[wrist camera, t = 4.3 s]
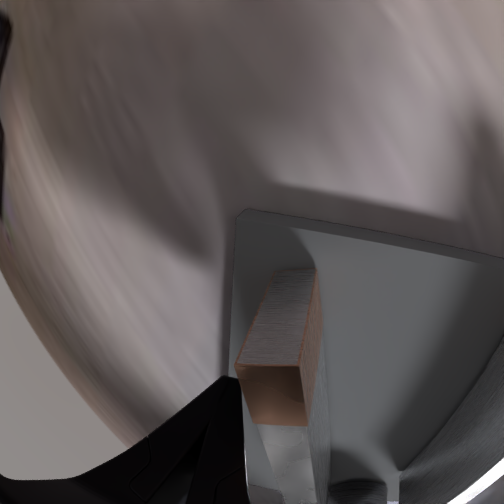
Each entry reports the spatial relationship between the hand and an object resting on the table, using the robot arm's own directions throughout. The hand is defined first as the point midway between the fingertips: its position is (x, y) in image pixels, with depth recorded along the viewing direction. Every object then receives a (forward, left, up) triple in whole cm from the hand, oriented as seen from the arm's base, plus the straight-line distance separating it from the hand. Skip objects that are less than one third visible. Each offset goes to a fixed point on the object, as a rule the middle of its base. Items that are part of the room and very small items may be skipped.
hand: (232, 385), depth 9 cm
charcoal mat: (-4, -8, -3) cm, 9 cm away
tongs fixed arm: (-2, -10, -2) cm, 10 cm away
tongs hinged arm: (-5, -5, -2) cm, 7 cm away
